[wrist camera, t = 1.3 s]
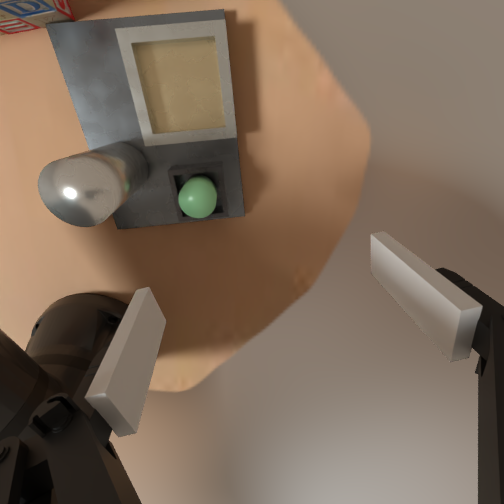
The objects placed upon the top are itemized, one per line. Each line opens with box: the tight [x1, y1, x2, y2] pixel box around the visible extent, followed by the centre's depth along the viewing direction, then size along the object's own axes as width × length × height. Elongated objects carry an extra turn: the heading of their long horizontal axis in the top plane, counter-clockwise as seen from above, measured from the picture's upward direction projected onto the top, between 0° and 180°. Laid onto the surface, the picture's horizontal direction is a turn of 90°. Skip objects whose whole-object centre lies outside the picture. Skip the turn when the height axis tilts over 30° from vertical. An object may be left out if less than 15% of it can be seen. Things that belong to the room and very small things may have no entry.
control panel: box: [45, 9, 245, 229], centre depth 26 cm, size 15×19×4 cm
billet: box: [38, 142, 148, 227], centre depth 24 cm, size 5×5×10 cm
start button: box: [178, 175, 217, 218], centre depth 27 cm, size 4×4×3 cm
